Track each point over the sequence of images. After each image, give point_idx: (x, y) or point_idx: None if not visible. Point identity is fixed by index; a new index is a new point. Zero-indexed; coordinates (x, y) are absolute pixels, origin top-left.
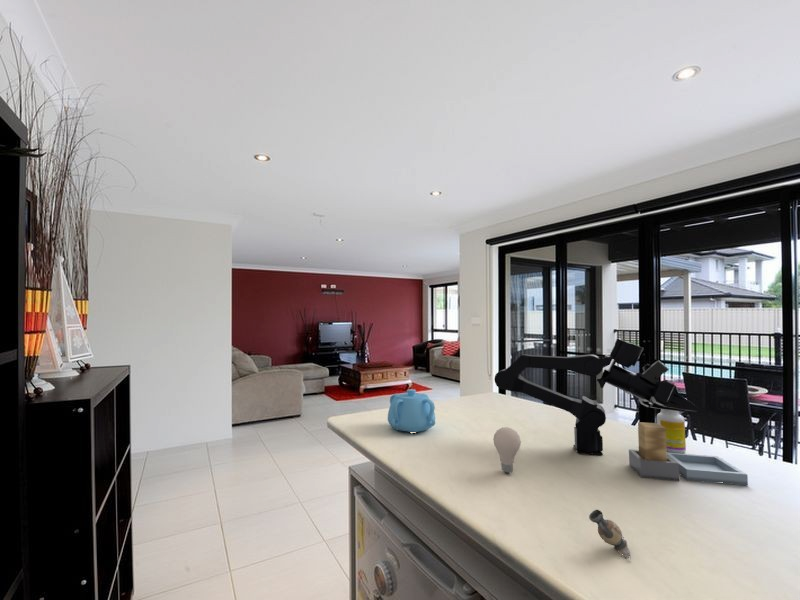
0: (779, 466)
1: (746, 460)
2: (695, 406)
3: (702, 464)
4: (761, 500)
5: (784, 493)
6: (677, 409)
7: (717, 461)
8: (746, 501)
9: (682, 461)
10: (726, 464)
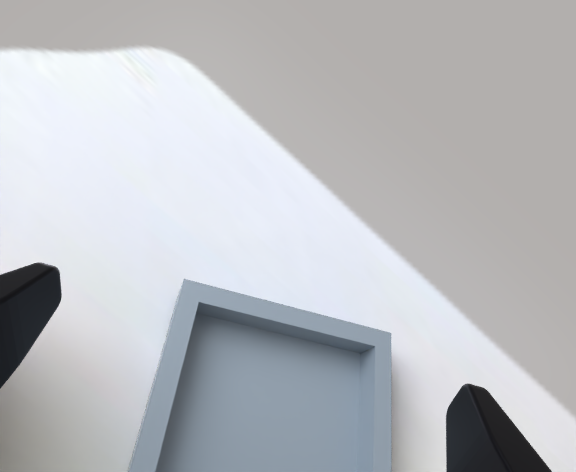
0: (181, 88)
1: (114, 128)
2: (500, 418)
3: (200, 380)
4: None
5: (403, 279)
6: (10, 364)
7: (218, 311)
8: None
9: (156, 467)
10: (291, 325)
